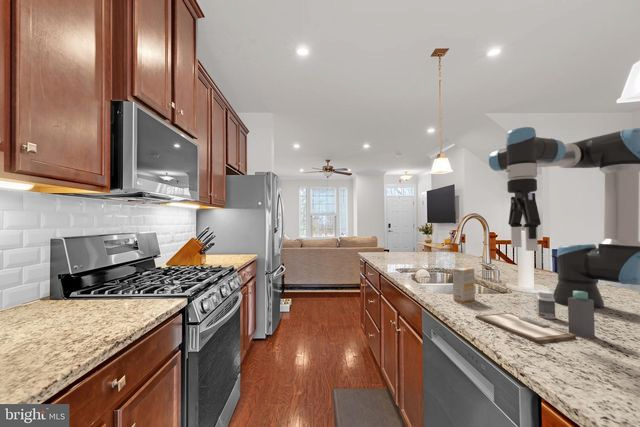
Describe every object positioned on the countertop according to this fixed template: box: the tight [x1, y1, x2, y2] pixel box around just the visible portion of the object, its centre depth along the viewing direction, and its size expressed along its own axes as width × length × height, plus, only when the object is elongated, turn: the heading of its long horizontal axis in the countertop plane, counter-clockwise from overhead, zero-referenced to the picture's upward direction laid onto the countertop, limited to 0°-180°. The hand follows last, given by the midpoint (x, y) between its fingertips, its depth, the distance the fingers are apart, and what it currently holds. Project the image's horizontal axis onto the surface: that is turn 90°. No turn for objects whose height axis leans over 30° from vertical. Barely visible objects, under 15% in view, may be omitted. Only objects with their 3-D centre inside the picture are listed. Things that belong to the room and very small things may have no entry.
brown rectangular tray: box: [475, 312, 577, 344], centre depth 91 cm, size 13×22×1 cm, turn 14°
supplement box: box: [452, 266, 476, 303], centre depth 124 cm, size 8×5×13 cm, turn 122°
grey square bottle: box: [567, 291, 596, 338], centre depth 85 cm, size 4×4×12 cm
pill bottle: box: [536, 290, 556, 320], centre depth 101 cm, size 5×5×8 cm
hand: (523, 248), depth 91 cm, fingers open, 13 cm apart
